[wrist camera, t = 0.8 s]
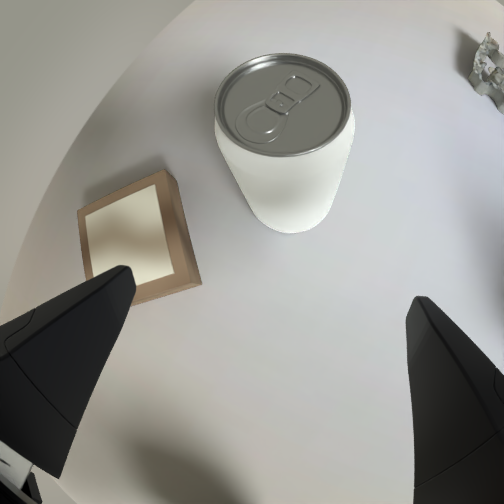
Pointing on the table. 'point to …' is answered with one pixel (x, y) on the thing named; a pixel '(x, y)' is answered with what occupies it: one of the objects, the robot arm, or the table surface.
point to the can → (285, 137)
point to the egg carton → (498, 83)
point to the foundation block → (141, 237)
